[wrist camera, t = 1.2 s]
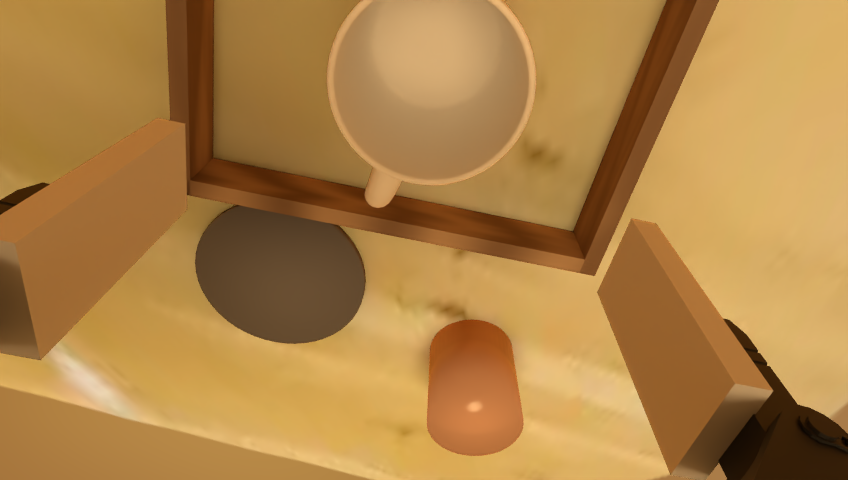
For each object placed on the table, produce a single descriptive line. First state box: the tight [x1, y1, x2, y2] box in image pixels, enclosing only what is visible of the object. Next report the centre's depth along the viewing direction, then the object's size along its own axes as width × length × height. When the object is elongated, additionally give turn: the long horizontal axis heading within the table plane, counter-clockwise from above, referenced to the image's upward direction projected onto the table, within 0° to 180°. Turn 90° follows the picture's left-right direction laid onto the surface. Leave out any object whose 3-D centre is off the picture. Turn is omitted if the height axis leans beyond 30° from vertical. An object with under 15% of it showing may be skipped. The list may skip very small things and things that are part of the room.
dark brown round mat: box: [195, 205, 365, 344], centre depth 38 cm, size 12×12×1 cm
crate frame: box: [166, 0, 719, 276], centre depth 29 cm, size 26×18×4 cm
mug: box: [327, 0, 536, 208], centre depth 26 cm, size 12×8×10 cm
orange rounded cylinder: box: [427, 320, 523, 456], centre depth 38 cm, size 6×6×7 cm
